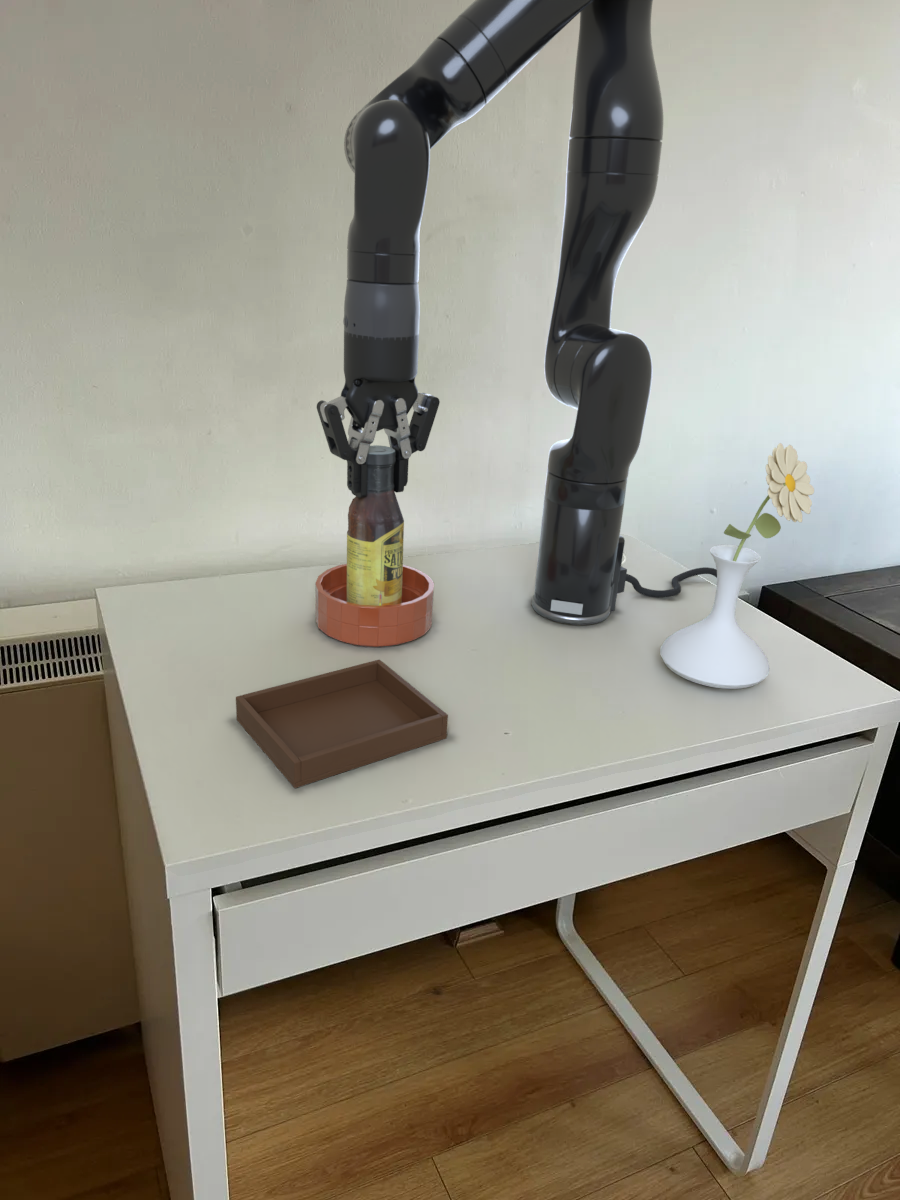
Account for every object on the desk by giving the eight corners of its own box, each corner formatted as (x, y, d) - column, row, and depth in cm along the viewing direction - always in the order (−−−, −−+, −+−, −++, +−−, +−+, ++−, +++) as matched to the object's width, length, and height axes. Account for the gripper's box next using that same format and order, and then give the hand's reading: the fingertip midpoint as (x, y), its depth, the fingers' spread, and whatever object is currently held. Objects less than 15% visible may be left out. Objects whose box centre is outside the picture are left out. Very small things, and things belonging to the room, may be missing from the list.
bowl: (393, 591, 112) (394, 554, 110) (454, 633, 102) (456, 593, 100) (296, 612, 105) (295, 573, 103) (351, 659, 95) (352, 616, 93)
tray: (378, 680, 91) (379, 658, 90) (446, 738, 82) (448, 714, 81) (236, 719, 83) (235, 696, 82) (294, 788, 74) (294, 763, 73)
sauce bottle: (393, 635, 100) (396, 460, 92) (339, 628, 101) (338, 455, 93) (407, 611, 106) (412, 445, 97) (356, 604, 107) (356, 439, 98)
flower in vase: (699, 706, 90) (747, 463, 80) (637, 655, 100) (673, 432, 89) (802, 688, 95) (859, 457, 85) (733, 641, 104) (777, 428, 94)
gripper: (336, 336, 84) (335, 512, 91) (461, 331, 91) (451, 494, 98) (300, 325, 89) (302, 491, 96) (420, 321, 97) (414, 476, 104)
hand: (377, 492), depth 97 cm, fingers closed on sauce bottle, 4 cm apart
